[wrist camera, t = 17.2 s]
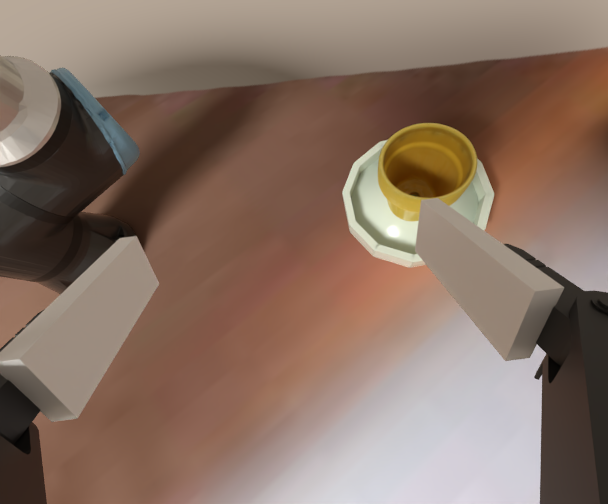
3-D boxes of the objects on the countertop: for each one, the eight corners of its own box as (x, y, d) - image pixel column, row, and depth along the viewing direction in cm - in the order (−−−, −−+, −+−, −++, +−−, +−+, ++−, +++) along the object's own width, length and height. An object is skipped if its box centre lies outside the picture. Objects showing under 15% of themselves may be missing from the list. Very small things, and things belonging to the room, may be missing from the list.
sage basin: (328, 242, 42) (325, 235, 39) (368, 137, 46) (368, 124, 43) (463, 284, 36) (471, 280, 34) (496, 162, 40) (506, 149, 37)
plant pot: (422, 156, 42) (439, 106, 32) (467, 209, 38) (500, 169, 29) (361, 191, 42) (361, 150, 33) (400, 246, 38) (412, 218, 29)
